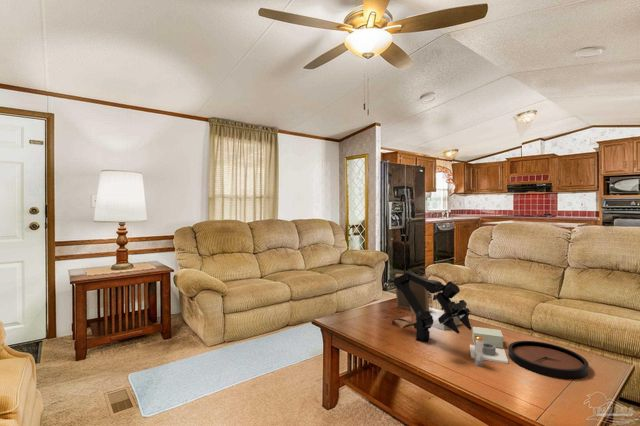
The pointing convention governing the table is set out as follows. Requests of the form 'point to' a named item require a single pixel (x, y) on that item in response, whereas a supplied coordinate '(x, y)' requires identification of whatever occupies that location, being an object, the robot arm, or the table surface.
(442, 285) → the robot arm
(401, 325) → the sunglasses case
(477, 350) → the gold topped patterned cylinder
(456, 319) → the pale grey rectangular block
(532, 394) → the table surface
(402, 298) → the tall grey box
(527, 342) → the wall clock
